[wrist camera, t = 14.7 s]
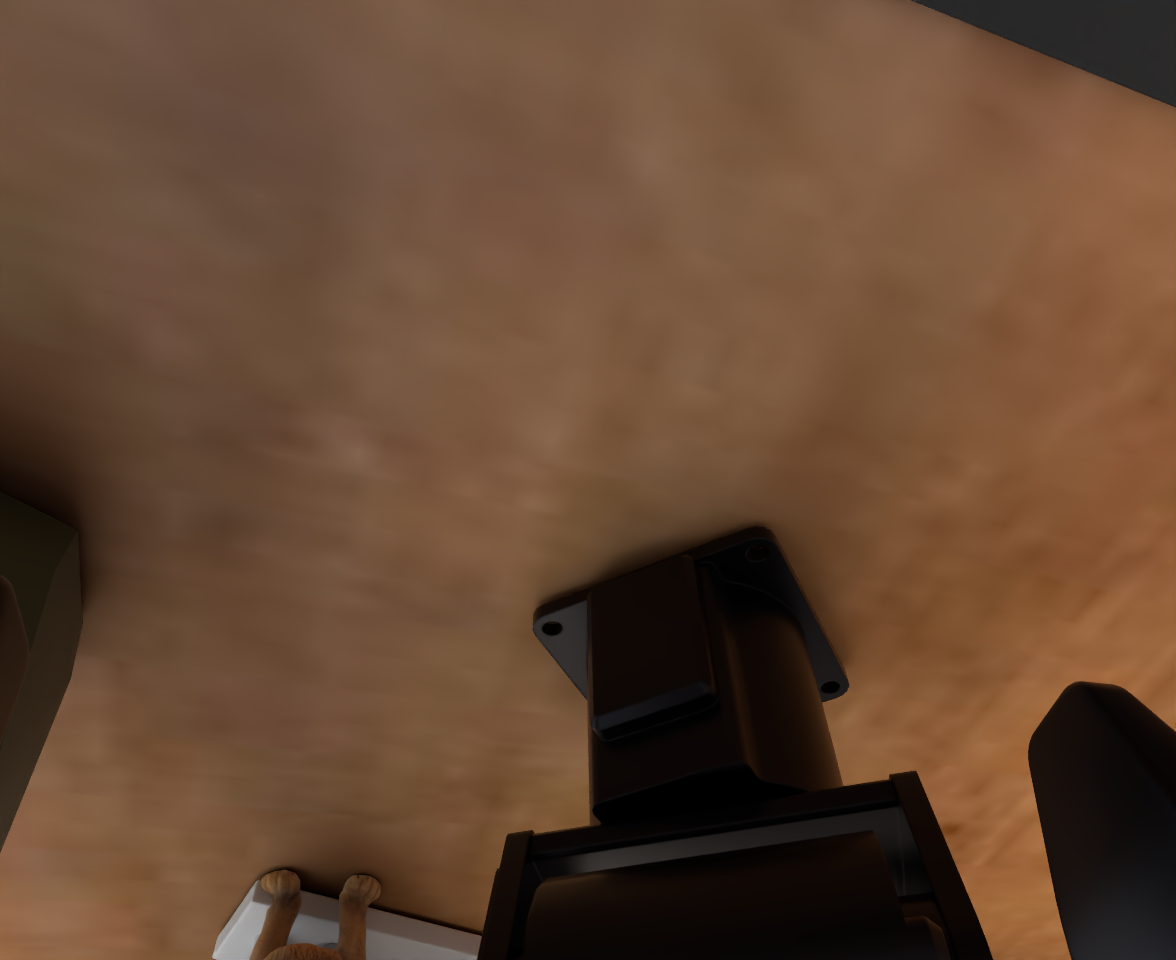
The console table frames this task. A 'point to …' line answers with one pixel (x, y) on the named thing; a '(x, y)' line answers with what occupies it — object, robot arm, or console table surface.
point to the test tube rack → (393, 943)
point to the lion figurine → (284, 888)
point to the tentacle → (37, 636)
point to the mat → (1087, 35)
